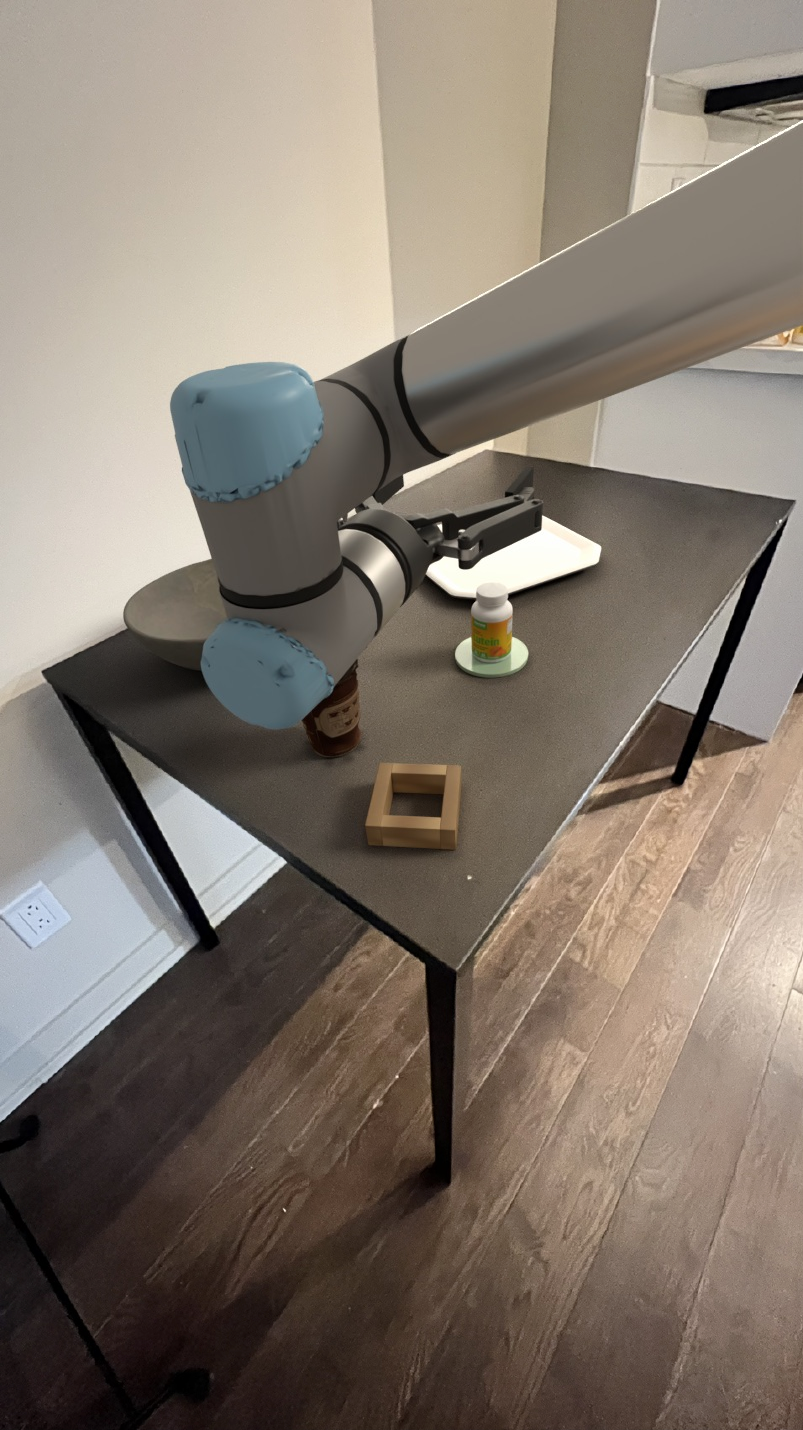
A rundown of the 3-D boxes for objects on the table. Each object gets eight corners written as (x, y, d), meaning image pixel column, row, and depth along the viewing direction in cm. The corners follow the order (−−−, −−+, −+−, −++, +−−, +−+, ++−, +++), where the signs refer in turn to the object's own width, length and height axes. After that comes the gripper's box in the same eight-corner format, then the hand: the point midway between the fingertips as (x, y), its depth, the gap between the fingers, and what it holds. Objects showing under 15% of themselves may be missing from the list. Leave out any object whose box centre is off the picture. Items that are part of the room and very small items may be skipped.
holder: (461, 784, 68) (461, 765, 66) (456, 850, 61) (455, 830, 59) (382, 781, 69) (379, 762, 67) (368, 845, 62) (364, 825, 61)
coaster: (527, 636, 89) (527, 633, 89) (529, 678, 81) (529, 674, 81) (457, 636, 90) (457, 633, 90) (452, 677, 83) (452, 673, 83)
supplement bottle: (466, 660, 85) (465, 597, 78) (477, 639, 88) (477, 577, 82) (505, 666, 83) (507, 602, 77) (515, 644, 86) (517, 581, 80)
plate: (618, 566, 102) (620, 554, 101) (466, 618, 94) (466, 605, 93) (517, 512, 123) (518, 501, 122) (385, 550, 115) (384, 539, 113)
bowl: (110, 671, 91) (82, 611, 85) (239, 591, 107) (224, 536, 101) (234, 727, 79) (212, 662, 72) (360, 627, 95) (351, 567, 88)
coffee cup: (386, 731, 76) (374, 641, 67) (345, 774, 71) (326, 682, 62) (330, 710, 80) (312, 623, 71) (287, 750, 75) (262, 660, 66)
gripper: (243, 596, 54) (356, 504, 69) (522, 642, 45) (585, 524, 59) (219, 512, 50) (346, 432, 64) (526, 544, 40) (594, 442, 55)
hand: (462, 476), depth 62 cm, fingers open, 13 cm apart
